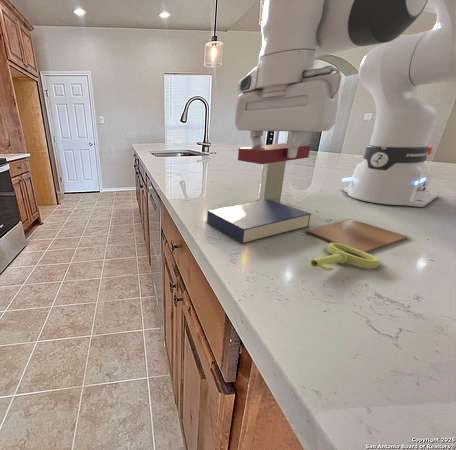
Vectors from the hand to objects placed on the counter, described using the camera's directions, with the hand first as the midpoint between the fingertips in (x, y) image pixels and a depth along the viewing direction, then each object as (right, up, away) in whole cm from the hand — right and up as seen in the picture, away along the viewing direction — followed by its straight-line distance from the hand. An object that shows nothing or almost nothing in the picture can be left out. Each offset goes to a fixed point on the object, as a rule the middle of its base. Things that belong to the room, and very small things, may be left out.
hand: (272, 155), depth 49 cm
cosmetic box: (+8, -8, +20) cm, 23 cm away
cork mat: (+16, -16, -1) cm, 23 cm away
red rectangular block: (0, -1, 0) cm, 1 cm away
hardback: (-1, -14, +6) cm, 15 cm away
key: (+6, -20, -9) cm, 23 cm away
